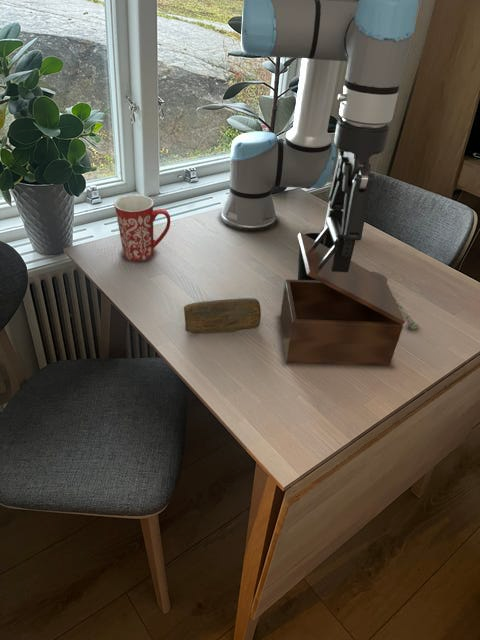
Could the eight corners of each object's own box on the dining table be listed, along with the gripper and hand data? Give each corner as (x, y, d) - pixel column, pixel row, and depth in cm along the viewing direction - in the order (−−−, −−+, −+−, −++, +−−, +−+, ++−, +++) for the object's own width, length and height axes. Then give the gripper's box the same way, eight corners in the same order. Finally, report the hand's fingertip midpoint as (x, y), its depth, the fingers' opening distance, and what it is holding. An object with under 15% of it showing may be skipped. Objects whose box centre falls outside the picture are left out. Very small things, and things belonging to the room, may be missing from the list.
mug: (116, 263, 113) (110, 210, 105) (122, 244, 120) (117, 193, 112) (169, 264, 114) (167, 212, 106) (173, 246, 121) (171, 195, 113)
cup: (324, 299, 106) (334, 252, 99) (290, 294, 107) (297, 246, 99) (326, 281, 112) (335, 235, 105) (294, 276, 113) (301, 230, 105)
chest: (286, 363, 89) (292, 321, 83) (279, 318, 99) (285, 279, 93) (389, 366, 89) (403, 325, 83) (372, 321, 100) (383, 283, 94)
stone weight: (252, 314, 100) (255, 287, 96) (261, 335, 95) (264, 308, 91) (181, 321, 97) (181, 294, 93) (186, 343, 91) (186, 315, 87)
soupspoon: (376, 275, 116) (351, 279, 115) (378, 263, 114) (353, 267, 113) (427, 327, 99) (399, 333, 98) (431, 314, 97) (402, 319, 96)
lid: (306, 275, 77) (334, 240, 73) (297, 235, 88) (321, 203, 84) (402, 325, 83) (432, 295, 80) (382, 282, 94) (408, 254, 90)
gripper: (327, 100, 77) (306, 228, 91) (352, 141, 60) (322, 290, 74) (372, 103, 77) (345, 230, 91) (410, 145, 61) (370, 292, 75)
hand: (335, 257), depth 83 cm, fingers closed on lid, 8 cm apart
